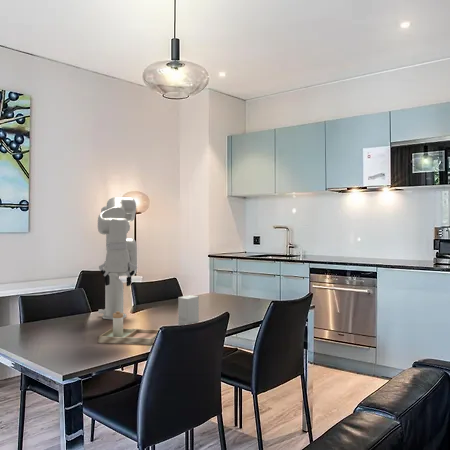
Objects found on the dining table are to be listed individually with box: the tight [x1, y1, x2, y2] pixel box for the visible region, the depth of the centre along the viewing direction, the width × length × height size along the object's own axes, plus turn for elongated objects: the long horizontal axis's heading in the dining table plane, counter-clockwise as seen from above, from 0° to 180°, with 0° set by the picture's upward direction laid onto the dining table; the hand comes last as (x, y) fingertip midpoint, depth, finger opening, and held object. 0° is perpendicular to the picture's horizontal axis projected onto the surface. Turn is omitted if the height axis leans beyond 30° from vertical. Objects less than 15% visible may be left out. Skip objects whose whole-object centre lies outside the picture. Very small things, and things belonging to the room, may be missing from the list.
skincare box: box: [177, 294, 200, 326], centre depth 221 cm, size 8×7×16 cm
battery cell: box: [112, 311, 124, 337], centre depth 203 cm, size 4×4×11 cm
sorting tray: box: [97, 327, 159, 346], centre depth 202 cm, size 24×16×2 cm, turn 82°
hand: (118, 285), depth 203 cm, fingers open, 9 cm apart
